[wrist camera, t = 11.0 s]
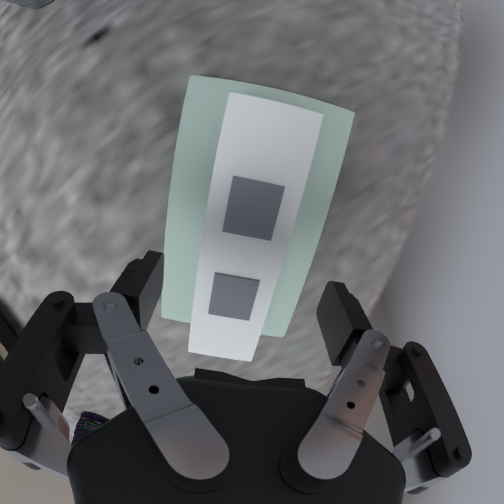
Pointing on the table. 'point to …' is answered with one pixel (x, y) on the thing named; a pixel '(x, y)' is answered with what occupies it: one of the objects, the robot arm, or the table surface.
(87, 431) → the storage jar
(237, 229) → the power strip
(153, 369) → the robot arm
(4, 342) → the stone bowl
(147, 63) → the table surface
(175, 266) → the hole board
